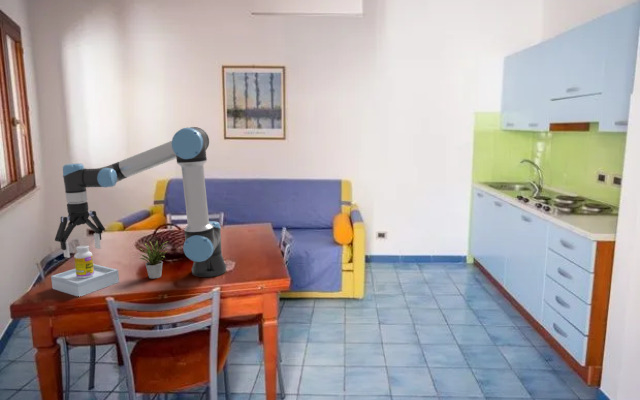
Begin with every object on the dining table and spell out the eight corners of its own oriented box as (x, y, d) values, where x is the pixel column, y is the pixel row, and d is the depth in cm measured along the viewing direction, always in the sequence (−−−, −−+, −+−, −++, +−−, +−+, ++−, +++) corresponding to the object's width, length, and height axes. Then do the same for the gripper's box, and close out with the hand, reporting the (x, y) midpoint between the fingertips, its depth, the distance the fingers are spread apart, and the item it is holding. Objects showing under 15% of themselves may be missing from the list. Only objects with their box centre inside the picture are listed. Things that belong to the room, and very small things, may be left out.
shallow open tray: (119, 282, 194) (118, 269, 193) (79, 296, 178) (77, 283, 177) (92, 275, 202) (91, 263, 201) (52, 288, 187) (50, 276, 186)
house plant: (181, 272, 205) (178, 237, 202) (164, 283, 192) (161, 245, 189) (152, 269, 208) (150, 235, 205) (134, 280, 195) (131, 243, 192)
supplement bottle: (87, 279, 186) (83, 249, 183) (72, 278, 187) (69, 248, 185) (98, 274, 192) (94, 244, 190) (84, 273, 193) (80, 244, 191)
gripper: (99, 196, 196) (104, 243, 200) (40, 206, 175) (47, 259, 179) (110, 197, 192) (115, 246, 196) (51, 208, 171) (58, 262, 175)
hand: (83, 252), depth 188 cm, fingers open, 13 cm apart
